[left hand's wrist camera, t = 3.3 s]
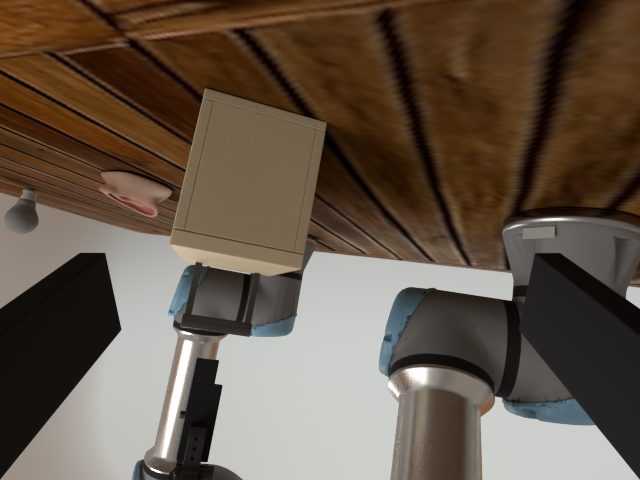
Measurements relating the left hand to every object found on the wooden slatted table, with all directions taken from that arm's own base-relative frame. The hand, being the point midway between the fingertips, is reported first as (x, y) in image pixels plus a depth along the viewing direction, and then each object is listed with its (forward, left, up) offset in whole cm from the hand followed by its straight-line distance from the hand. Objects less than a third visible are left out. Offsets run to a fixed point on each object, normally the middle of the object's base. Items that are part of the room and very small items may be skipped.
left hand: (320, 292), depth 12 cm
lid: (-20, +19, -4) cm, 28 cm away
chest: (-19, +19, -15) cm, 31 cm away
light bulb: (-37, +92, -15) cm, 100 cm away
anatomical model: (-32, +52, -15) cm, 63 cm away
